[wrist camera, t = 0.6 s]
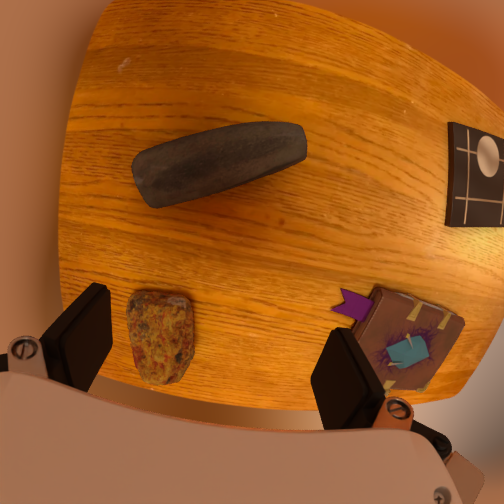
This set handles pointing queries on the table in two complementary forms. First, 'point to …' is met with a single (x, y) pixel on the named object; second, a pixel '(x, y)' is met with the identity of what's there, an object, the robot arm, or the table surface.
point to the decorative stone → (216, 160)
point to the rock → (160, 335)
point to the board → (475, 178)
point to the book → (401, 336)
